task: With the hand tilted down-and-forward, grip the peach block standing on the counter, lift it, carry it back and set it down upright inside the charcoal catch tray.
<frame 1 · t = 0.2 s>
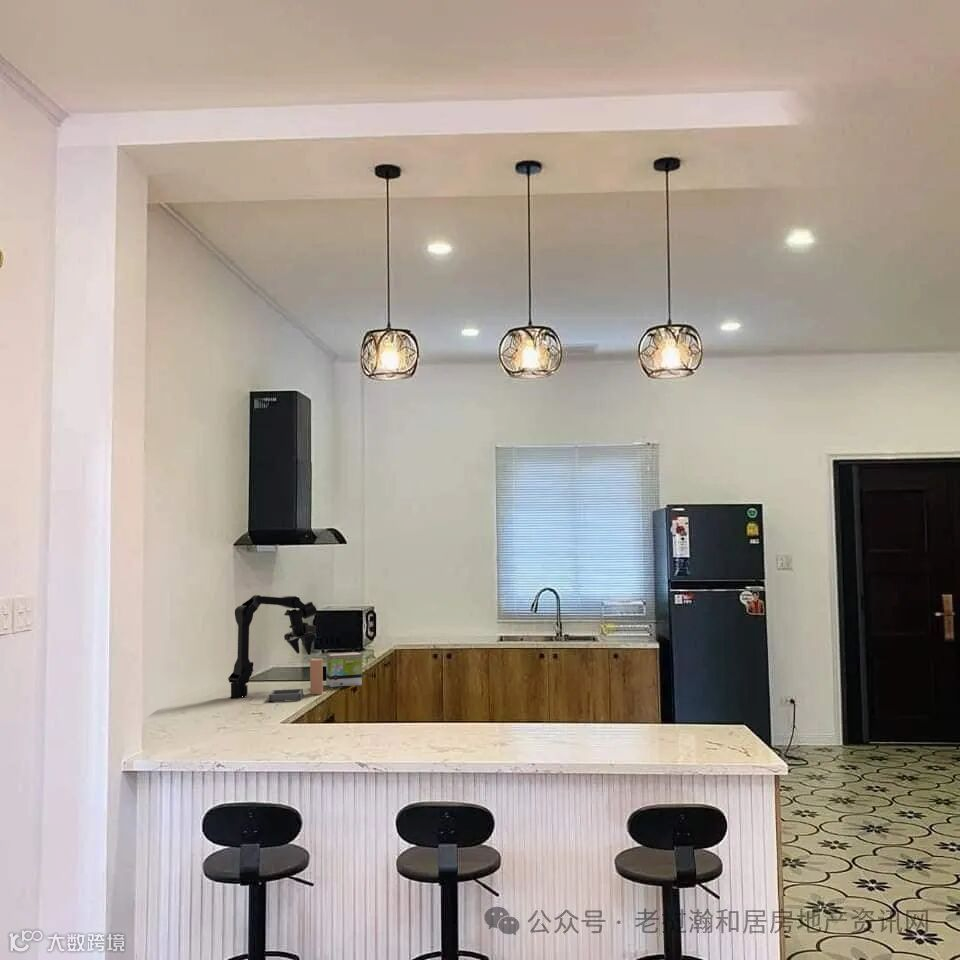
hand: (303, 654, 414), 15 cm above the worktop, tool pointing down, fingers open, 9 cm apart
catch tray: (286, 698, 380), on the worktop
tea box: (344, 685, 415), on the worktop
peach block: (316, 693, 392), on the worktop
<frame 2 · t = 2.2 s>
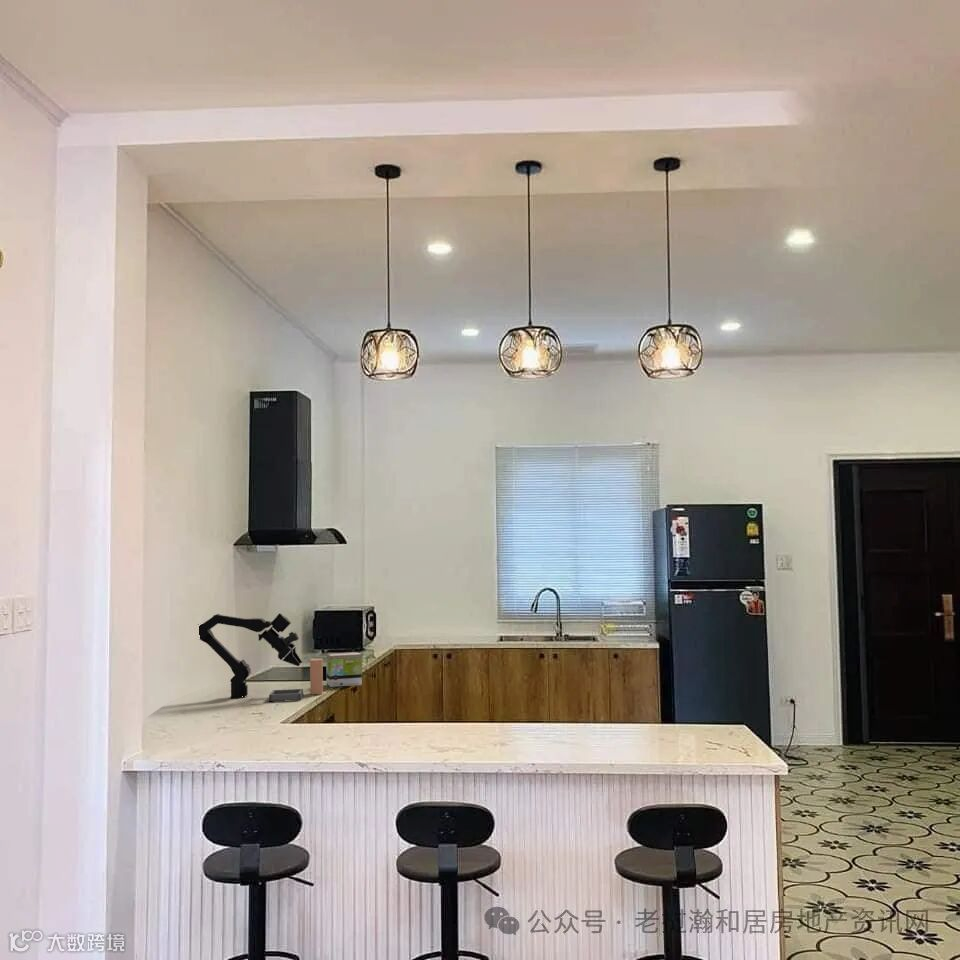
hand: (300, 664, 393), 13 cm above the worktop, tool tilted 45°, fingers open, 9 cm apart
nothing on the worktop moved.
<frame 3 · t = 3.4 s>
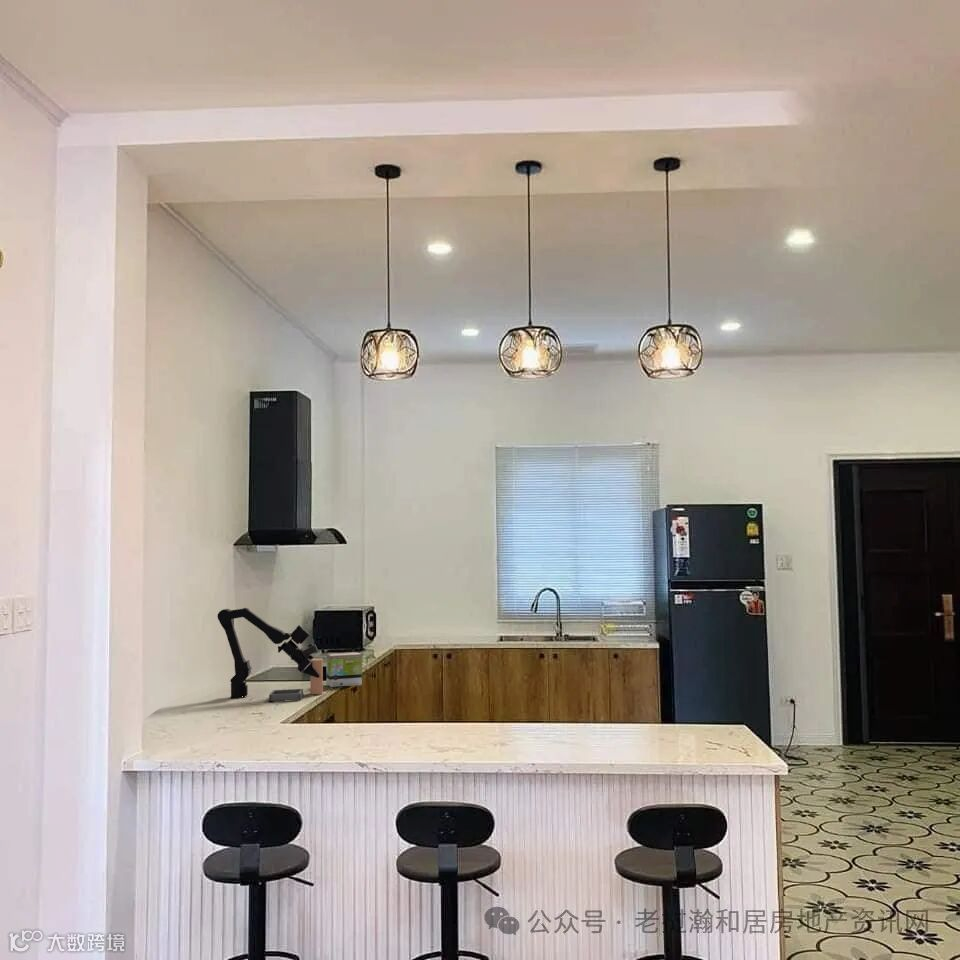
hand: (319, 675, 393), 8 cm above the worktop, tool tilted 45°, fingers open, 8 cm apart
peach block: (316, 693, 392), on the worktop, touching gripper
everything else where it was.
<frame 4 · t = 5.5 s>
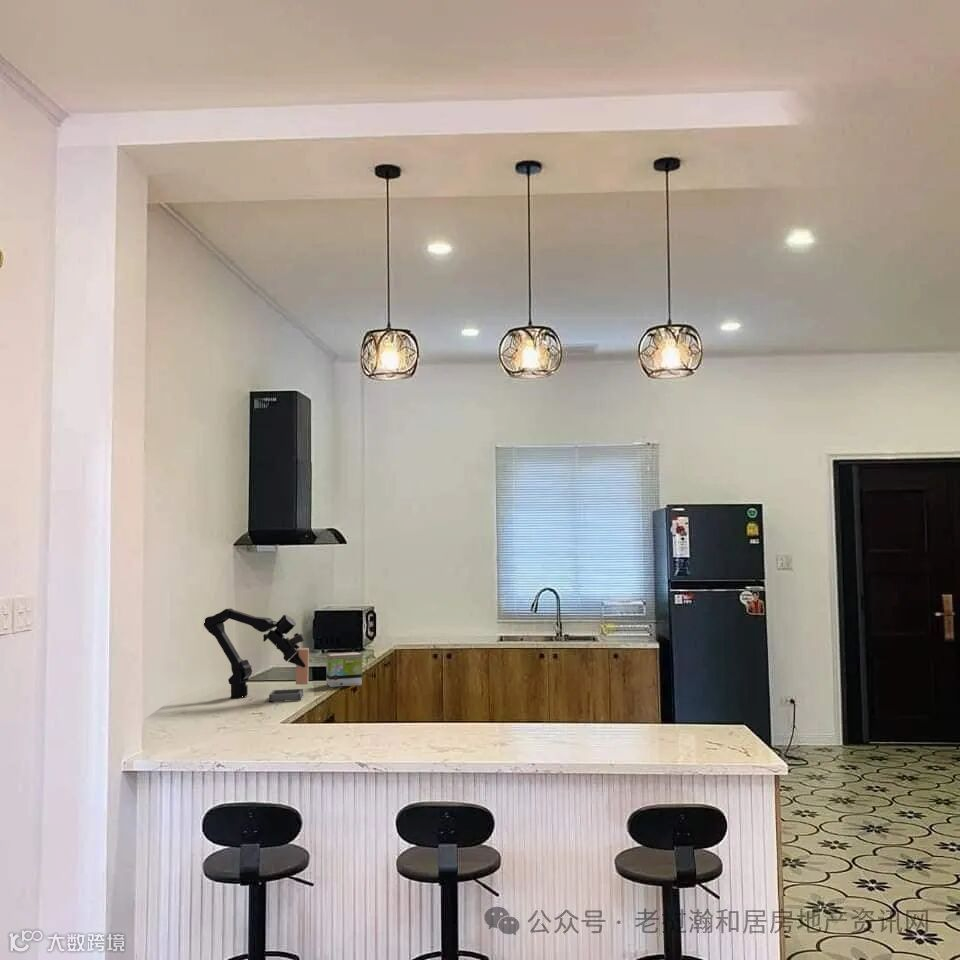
hand: (305, 665, 388), 13 cm above the worktop, tool tilted 45°, fingers closed on peach block, 6 cm apart
peach block: (302, 683, 388), point 5 cm above the worktop, touching gripper
everything else where it was.
when the fingers open (10 cm above the worktop, at t = 7.3 s): peach block drops 2 cm, resting on catch tray.
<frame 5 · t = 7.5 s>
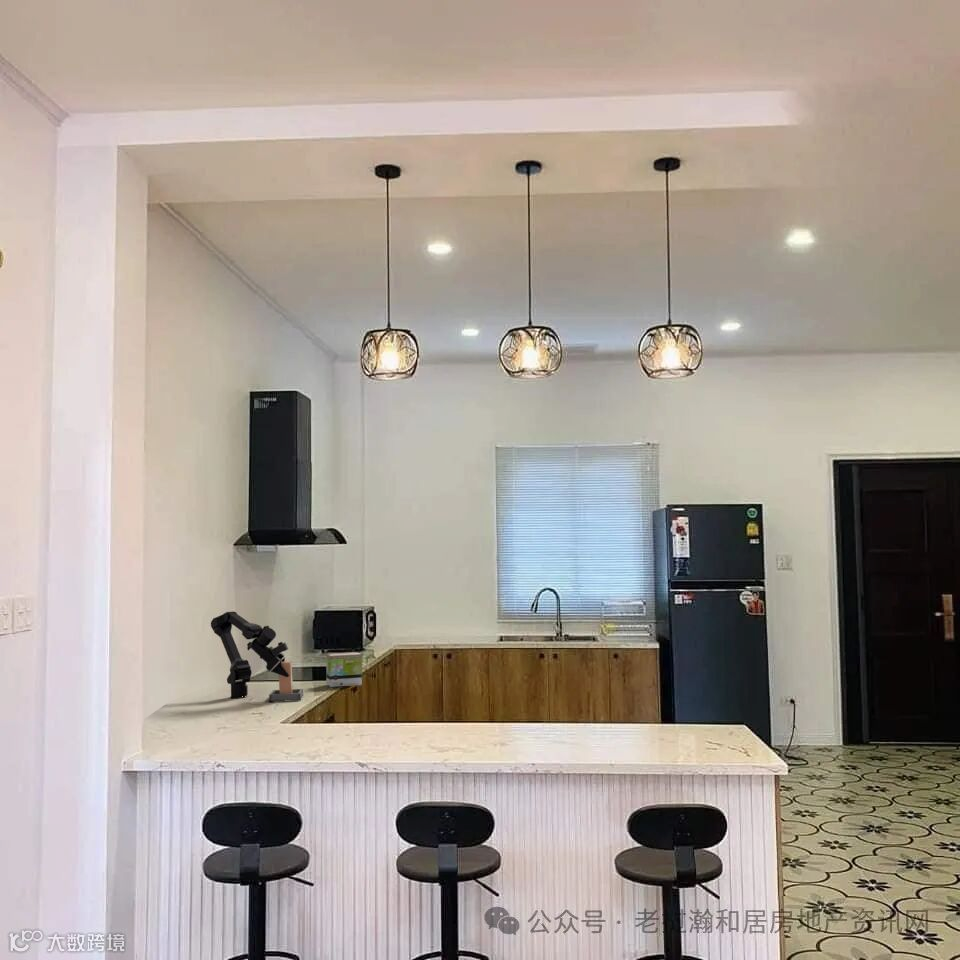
hand: (289, 675, 381), 10 cm above the worktop, tool tilted 45°, fingers open, 8 cm apart
peach block: (286, 697, 380), point 1 cm above the worktop, touching catch tray
everything else where it was.
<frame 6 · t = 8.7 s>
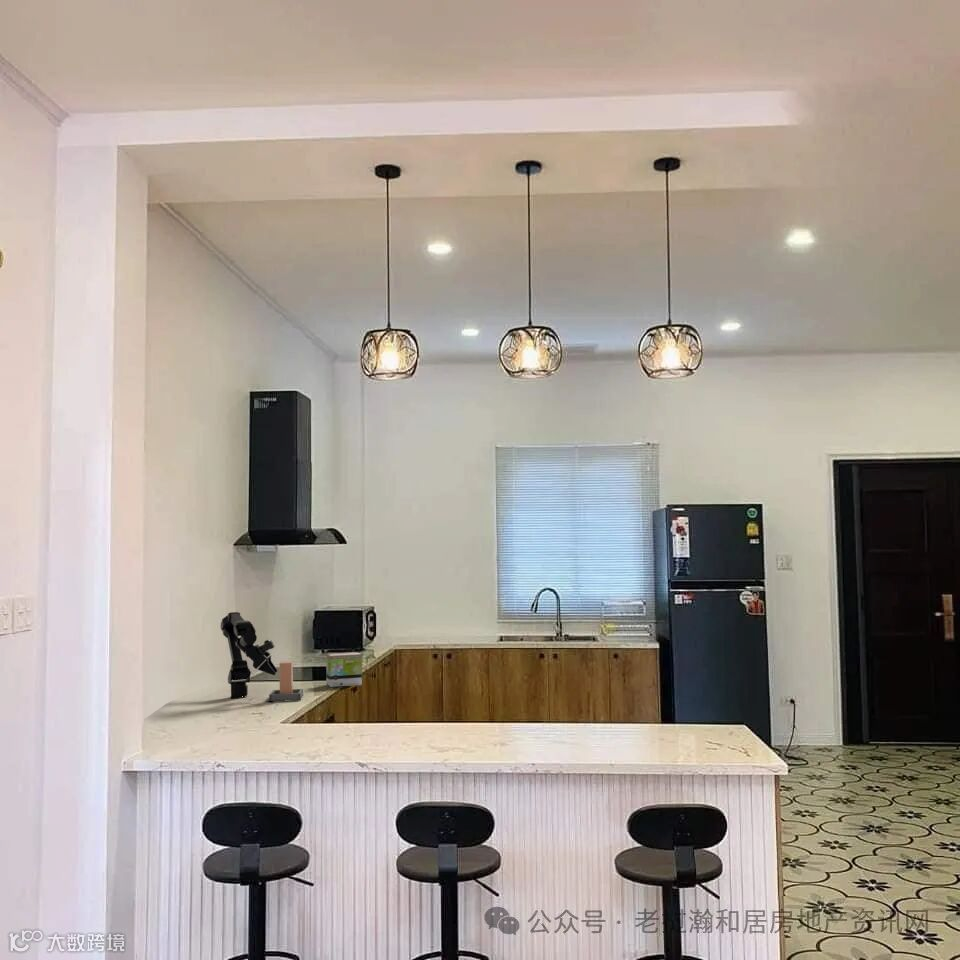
hand: (275, 673, 381), 11 cm above the worktop, tool tilted 45°, fingers open, 9 cm apart
nothing on the worktop moved.
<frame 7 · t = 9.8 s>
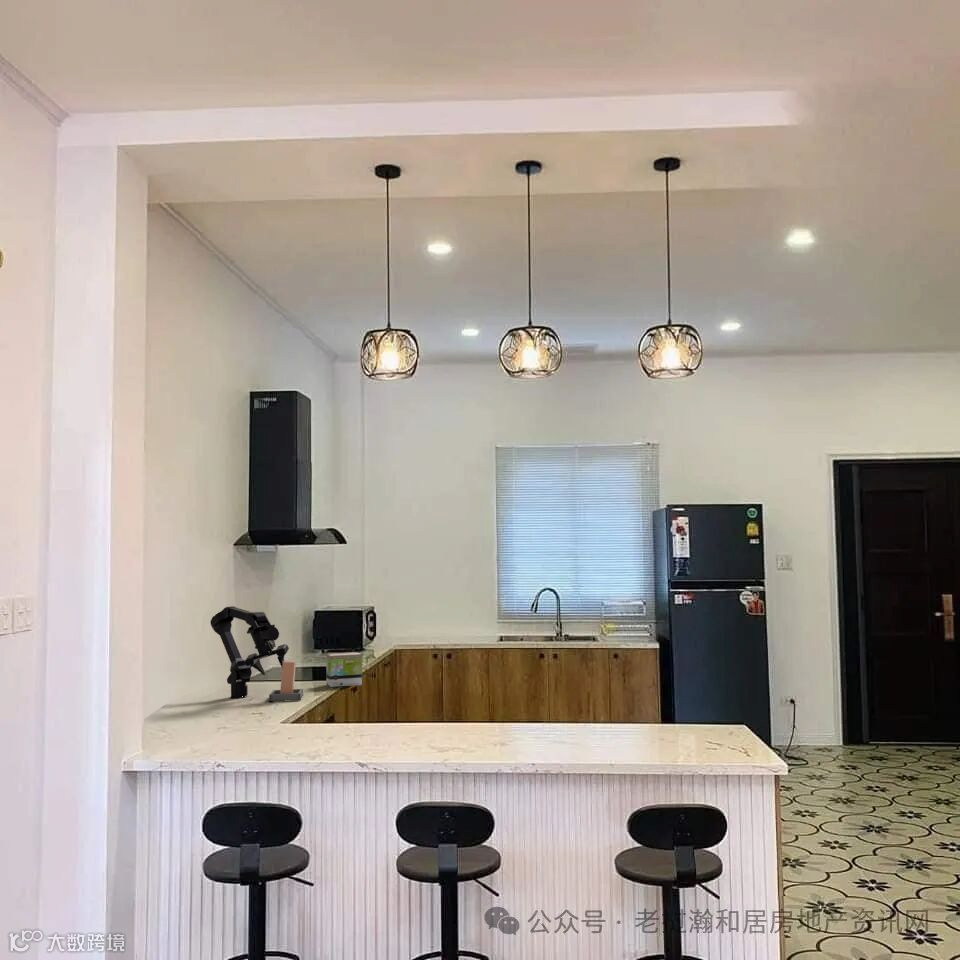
hand: (274, 671, 388), 11 cm above the worktop, tool tilted 25°, fingers open, 9 cm apart
peach block: (286, 696, 380), point 1 cm above the worktop, tilted 5°, touching catch tray, gripper
everything else where it was.
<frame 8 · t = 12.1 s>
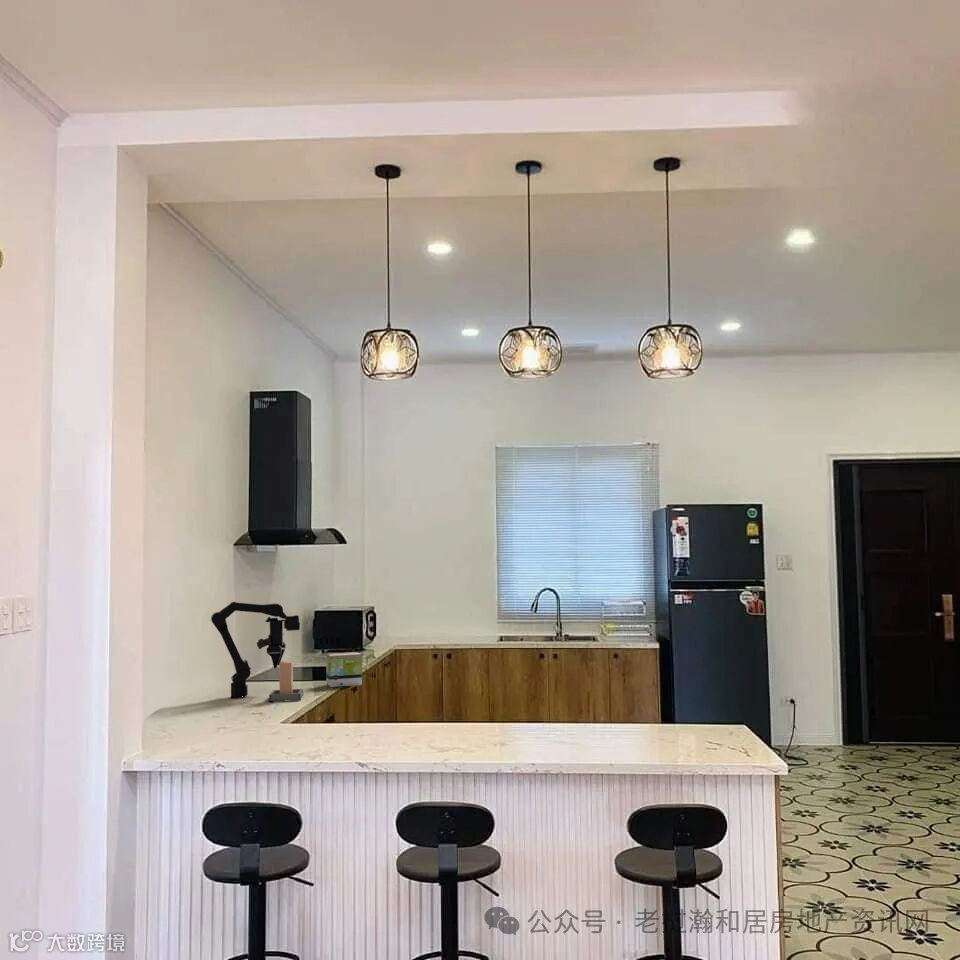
hand: (276, 666, 396), 12 cm above the worktop, tool pointing down, fingers open, 9 cm apart
peach block: (286, 697, 380), point 1 cm above the worktop, touching catch tray
everything else where it was.
at the end: peach block inside the target area on the catch tray (0.0 cm from its centre), point 0.6 cm above the catch tray's base; peach block tilted 0°; the gripper is holding nothing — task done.
